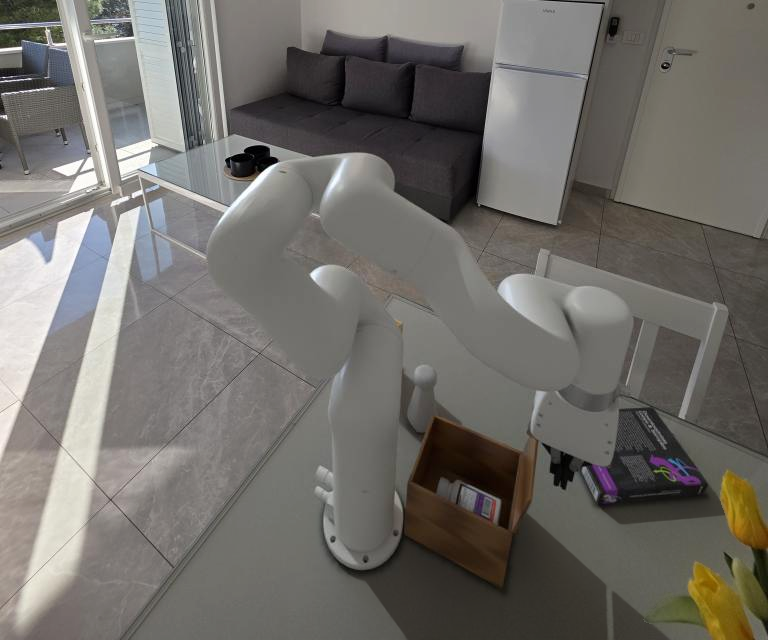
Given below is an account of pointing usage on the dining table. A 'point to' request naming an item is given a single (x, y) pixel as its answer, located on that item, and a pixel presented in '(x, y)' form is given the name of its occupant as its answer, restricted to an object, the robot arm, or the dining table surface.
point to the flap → (525, 481)
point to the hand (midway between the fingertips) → (559, 477)
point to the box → (644, 463)
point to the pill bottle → (471, 499)
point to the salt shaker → (423, 398)
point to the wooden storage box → (450, 521)
